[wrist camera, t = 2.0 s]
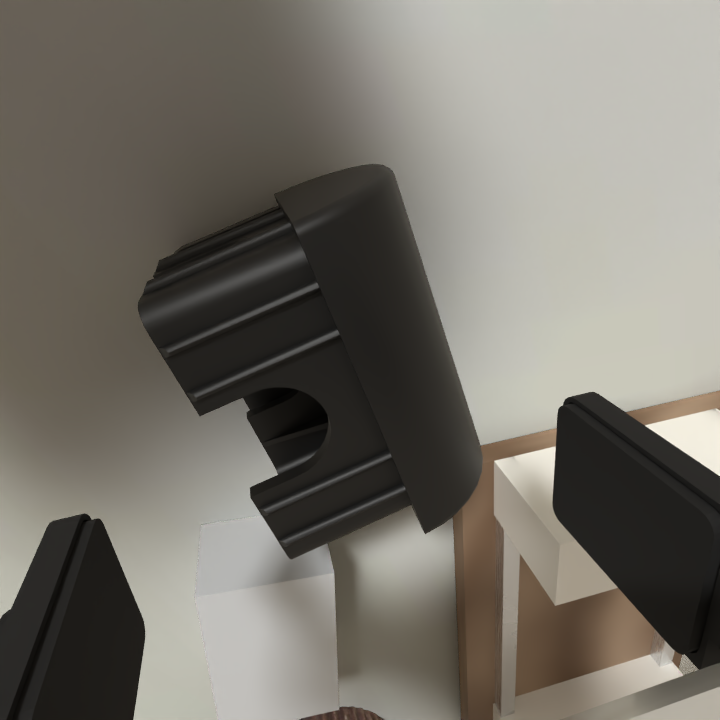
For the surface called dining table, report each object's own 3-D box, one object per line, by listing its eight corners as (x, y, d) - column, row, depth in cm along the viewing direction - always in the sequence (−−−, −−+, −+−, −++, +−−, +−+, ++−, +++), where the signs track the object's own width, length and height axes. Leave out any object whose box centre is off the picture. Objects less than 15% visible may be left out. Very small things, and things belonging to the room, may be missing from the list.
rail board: (722, 390, 25) (744, 401, 24) (663, 657, 34) (677, 674, 32) (450, 452, 23) (461, 468, 22) (461, 721, 31) (469, 742, 30)
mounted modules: (716, 408, 24) (833, 476, 19) (656, 681, 32) (726, 774, 28) (493, 461, 22) (563, 549, 17) (492, 734, 31) (539, 842, 26)
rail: (714, 408, 24) (729, 417, 23) (654, 682, 32) (664, 694, 32) (496, 460, 22) (505, 471, 21) (494, 734, 31) (500, 748, 30)
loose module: (318, 503, 23) (334, 572, 19) (325, 629, 26) (339, 709, 22) (201, 520, 22) (194, 597, 18) (223, 650, 25) (220, 736, 21)
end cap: (439, 393, 22) (519, 496, 16) (283, 463, 21) (303, 595, 15) (356, 154, 17) (424, 167, 11) (158, 238, 17) (115, 300, 11)
